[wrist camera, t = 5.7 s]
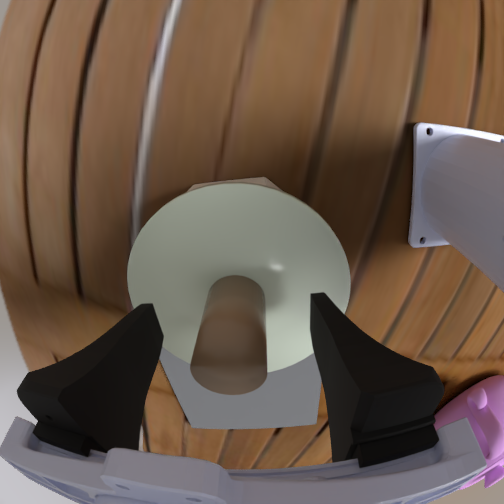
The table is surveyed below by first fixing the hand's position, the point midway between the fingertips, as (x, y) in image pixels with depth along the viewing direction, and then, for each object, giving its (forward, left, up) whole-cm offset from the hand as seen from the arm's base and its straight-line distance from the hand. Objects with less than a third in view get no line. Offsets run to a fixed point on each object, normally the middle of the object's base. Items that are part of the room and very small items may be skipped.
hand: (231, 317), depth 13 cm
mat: (+1, +13, -6) cm, 14 cm away
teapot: (-30, +25, -6) cm, 40 cm away
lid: (0, +1, -3) cm, 3 cm away
